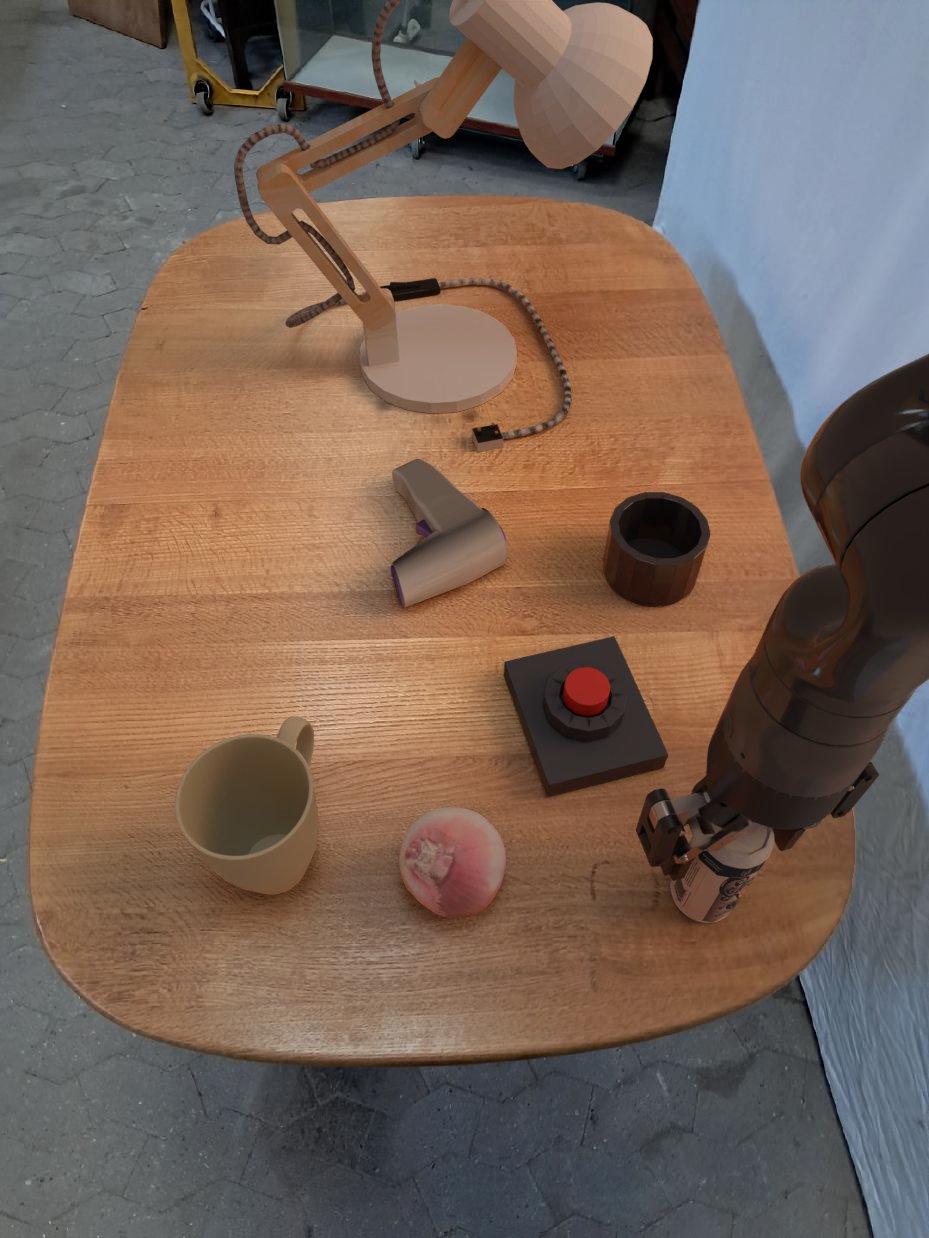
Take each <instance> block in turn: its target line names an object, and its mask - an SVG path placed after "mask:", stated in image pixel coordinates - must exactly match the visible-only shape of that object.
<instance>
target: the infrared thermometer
mask: <svg viewBox="0 0 929 1238" xmlns="http://www.w3.org/2000/svg"><path fill="white" fill-rule="evenodd" d="M391 475H392V484H393V489H394V491H395V492H397V493H398V494H400V495H401V496H402V497H403V498H404V500H405V501H406V503H407V504H408V506H409V508H410V510H411V512H412V514H413V516H414V518H415V520H416V521H417V523H416V524H415V533H416V535H418V536H421V537H422V538H423V539H421V540H420V541H419V542H418V543H416V544H415V545H414V546H413V547H411V548H410V549H408V550H407V551H406V552H405V553H403V554H402V555H400V556H399V557H397V558H396V559H395V560H394V561H393V562H392V564H391V565H390V573H391V579H392V582H393V586H394V590H395V593H396V597H397V600H398V603H399V605H400V607H402V608H403V607H404V608H408V607H410V606H412V605H415V604H418V603H420V602H423V601H426V600H428V599H431V598H434V597H436V596H439V595H442V594H445V593H447V592H450V591H452V590H455V589H457V588H460V587H463V586H467V585H469V584H470V583H472V582H474V581H476V580H478V579H479V578H482V577H483V576H485V575H487V574H489V573H491V572H492V571H495V570H497V569H499V568H500V567H502V566H504V565H505V564H506V563H507V562H508V558H509V549H508V548H509V546H508V540H507V537H506V534H505V532H504V529H503V528H502V526H501V524H500V523H499V522H498V521H497V519H496V518H495V517H494V515H493V514H492V513H491V512H490V511H489V510H488V509H486V508H485V507H480V506H478V504H476V503H475V502H474V501H473V499H471V498H470V497H469V496H467V495H466V494H465V493H463V492H462V491H461V490H460V489H458V488H457V487H456V486H455V484H453V482H452V481H450V479H449V478H448V477H446V476H445V475H444V473H442V472H441V471H440V470H439V469H438V468H436V467H435V466H433V465H432V464H430V463H429V462H427V461H425V460H423V459H420V458H415V459H413V460H411V461H409V462H406V463H403V464H402V465H400V466H398V467H396V468H393V469H392V470H391Z"/></svg>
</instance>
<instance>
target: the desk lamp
mask: <svg viewBox="0 0 929 1238" xmlns="http://www.w3.org/2000/svg"><path fill="white" fill-rule="evenodd" d="M401 1H402V0H386V2H385V3H384V5H383V7H382V9H381V11H380V13H379V15H378V17H377V19H376V22H375V25H374V29H373V34H372V38H371V62H372V63H371V64H372V70H373V76H374V79H375V83H376V87H377V89H378V92H379V95H380V97H381V101H382V102H383V103H382V104H380V105H378V106H377V107H374V108H372V109H370V110H368V111H366V112H365V113H363V114H361V115H358V116H357V117H355V118H352V119H351V120H348V121H346V122H345V123H343V124H341V125H339V126H337V127H335V128H333V129H331V130H329V131H326V132H325V133H323V134H321V135H319V136H317V137H315V138H313V139H312V140H309V141H307V139H306V138H305V136H304V135H303V133H302V132H301V131H300V130H299V129H298V128H296V127H294V126H291V125H290V124H288V123H279V124H268V125H266V126H265V127H263V128H261V129H259V130H257V131H256V132H253V133H252V134H250V136H249V137H248V138H247V139H246V140H245V141H244V142H243V143H242V144H241V145H240V146H239V148H238V149H237V153H236V156H235V159H234V162H233V173H234V181H235V186H236V192H237V195H238V196H237V197H238V201H239V204H240V205H239V206H240V209H241V212H242V214H243V217H244V219H245V222H246V224H247V225H248V226H249V228H250V229H251V231H252V232H253V234H254V235H255V236H256V237H257V238H258V239H260V240H261V241H263V242H264V243H265V244H267V245H281V244H283V243H285V242H287V241H289V240H291V239H292V238H293V239H294V240H295V242H296V243H297V244H298V245H299V247H300V248H301V249H302V250H303V252H304V253H305V254H306V255H307V256H308V257H309V259H310V260H311V261H312V263H313V264H314V265H315V266H316V267H317V269H318V270H319V271H320V272H321V274H322V275H323V276H324V277H325V278H326V280H327V281H328V282H329V283H330V285H331V286H332V287H333V288H334V289H335V290H336V293H335V294H333V295H332V296H331V297H329V298H328V299H326V300H324V301H321V302H317V303H314V304H312V305H308V306H307V307H304V308H302V309H300V310H298V311H296V312H294V313H292V314H291V315H289V317H288V318H287V319H286V320H285V323H284V324H285V326H286V327H287V328H289V329H291V328H297V327H299V326H301V325H303V324H305V323H307V322H308V321H310V320H312V319H314V318H315V317H317V316H319V315H321V314H322V313H323V312H325V311H327V310H329V309H331V307H336V306H340V305H345V304H346V305H348V307H349V308H350V309H351V310H352V312H353V313H354V315H356V316H357V317H358V319H359V320H360V321H361V322H362V328H363V337H364V338H363V341H362V342H361V344H360V347H359V363H360V364H359V365H360V373H361V376H362V378H363V380H364V381H365V383H366V384H367V386H368V388H369V390H371V391H372V392H373V393H374V394H376V395H377V396H378V397H379V398H381V400H383V401H384V402H386V403H389V404H391V405H393V406H396V407H399V408H401V409H403V410H406V411H411V412H419V413H424V414H425V413H426V414H448V413H458V412H463V411H466V410H469V409H473V408H476V407H480V406H482V405H484V404H485V403H487V402H489V401H490V400H492V399H494V398H495V397H497V396H499V395H501V393H502V392H503V391H504V390H505V388H507V386H508V385H509V384H510V383H511V382H512V381H513V379H514V375H515V371H516V368H517V366H518V350H517V346H516V340H515V337H514V336H513V334H512V333H511V331H510V330H509V328H507V326H506V325H505V324H504V323H502V322H501V321H500V320H498V319H496V318H495V317H493V316H492V315H490V314H489V313H486V312H485V311H481V310H478V309H475V308H472V307H470V306H465V305H457V304H450V303H434V304H433V303H432V304H420V305H417V306H413V307H408V308H405V309H401V310H397V311H396V302H397V301H405V300H410V299H416V298H417V299H418V298H422V297H423V298H424V297H429V296H435V295H440V294H441V289H442V290H443V289H448V288H455V287H463V286H464V287H465V286H472V285H474V286H475V285H476V286H478V285H479V286H492V287H495V288H499V289H501V290H505V291H507V292H508V293H509V294H511V295H512V296H514V297H515V298H516V299H518V300H519V301H520V303H521V304H522V305H523V306H524V307H525V309H527V311H528V313H529V314H530V316H531V317H532V320H533V321H534V323H535V324H536V326H537V328H538V330H539V332H540V335H541V336H542V339H543V340H544V342H545V344H546V346H547V348H548V350H549V353H550V354H551V357H552V359H553V361H554V363H555V366H556V368H557V370H558V372H559V377H560V378H561V382H562V384H563V393H564V401H563V404H562V406H561V410H560V411H559V412H558V413H557V414H555V416H554V417H552V418H551V419H549V420H547V421H545V422H542V423H539V424H537V425H533V426H529V427H525V428H520V429H515V430H508V431H503V432H501V429H500V426H499V425H498V423H495V422H491V424H490V425H484V426H477V427H473V428H471V437H472V438H471V439H472V441H473V443H474V446H475V449H476V452H477V453H481V452H487V451H493V450H498V449H503V448H504V441H505V440H509V439H515V438H519V437H524V436H530V435H534V434H537V433H540V432H542V431H545V430H548V429H551V428H553V427H555V426H556V425H558V423H560V422H561V421H562V420H563V419H564V418H565V417H566V416H567V415H568V413H569V411H570V407H571V403H572V386H571V382H570V380H569V376H568V372H567V370H566V367H565V365H564V363H563V361H562V358H561V356H560V354H559V352H558V350H557V348H556V346H555V344H554V342H553V340H552V337H551V335H550V334H549V331H548V330H547V328H546V326H545V324H544V322H543V320H542V318H541V317H540V315H539V313H538V312H537V310H536V308H535V307H534V305H533V304H532V303H531V302H530V301H529V299H527V297H526V296H525V295H524V294H523V293H522V292H521V291H519V290H518V289H516V288H515V287H514V286H512V285H510V284H509V283H506V282H503V281H501V280H497V279H493V278H483V277H481V278H478V277H470V278H462V279H453V280H446V281H438V278H437V277H432V278H426V279H420V280H413V281H412V280H411V281H390V282H389V284H386V285H379V283H378V282H377V281H376V280H375V278H374V277H373V276H372V274H371V273H370V271H368V269H367V268H366V266H365V265H364V264H363V262H362V261H361V260H360V258H359V257H358V256H357V255H356V253H355V252H354V250H353V249H352V248H351V247H350V245H349V244H348V243H347V242H346V240H345V239H344V238H343V236H342V235H341V233H340V232H339V231H338V229H336V226H334V225H333V223H332V222H331V220H330V219H329V218H328V217H327V215H326V214H325V213H324V211H323V209H321V208H320V206H319V205H318V203H317V202H316V200H315V199H314V198H313V196H312V195H311V193H313V192H314V191H316V190H318V189H321V188H323V187H324V186H327V185H328V184H330V183H332V182H335V181H336V180H339V179H340V178H343V177H344V176H346V175H349V174H351V173H353V172H354V171H357V170H359V169H361V168H362V167H365V166H367V165H368V164H371V163H373V162H374V161H377V160H379V159H381V158H383V157H385V156H386V155H389V154H390V153H393V152H394V151H397V150H399V149H400V148H403V147H405V146H407V145H408V144H410V143H412V142H415V141H416V140H417V141H418V140H419V139H421V138H423V137H424V136H426V135H429V134H431V133H432V132H433V133H435V134H436V135H437V136H438V137H440V138H442V139H445V140H446V139H449V138H451V137H453V136H454V135H455V133H456V132H457V131H458V129H459V128H460V126H462V124H463V122H464V121H465V120H466V118H467V117H468V115H469V114H470V113H471V111H472V110H473V109H474V107H475V106H476V105H477V103H478V102H479V101H480V99H481V98H482V96H483V95H484V94H485V93H486V91H487V90H488V88H489V87H490V86H491V84H492V83H493V82H494V81H495V79H496V78H497V76H498V75H499V73H500V72H501V71H502V70H503V71H504V72H505V73H506V74H508V75H509V76H510V77H511V78H512V79H513V80H514V84H513V85H514V86H513V97H512V98H513V100H512V101H513V111H514V115H515V119H516V123H517V127H518V130H519V133H520V136H521V139H522V140H523V142H524V144H525V146H526V147H527V148H528V151H530V153H531V154H532V155H533V156H534V158H536V159H537V160H538V161H539V162H540V163H542V164H543V166H545V167H546V169H557V170H563V169H565V168H568V167H571V166H574V165H577V164H579V163H581V162H582V161H584V160H585V159H587V158H588V157H590V156H591V155H592V154H594V153H596V151H599V149H600V148H601V147H602V146H603V145H605V143H606V142H607V141H608V140H609V139H610V138H611V137H612V136H613V135H614V134H615V133H616V132H617V131H618V129H619V128H620V127H621V126H622V124H623V122H624V121H625V120H626V118H627V117H628V115H629V114H630V113H631V111H632V110H633V109H634V106H635V105H636V104H637V100H638V98H639V97H640V94H641V93H642V90H643V88H645V86H646V85H645V84H646V82H647V80H648V76H649V72H650V69H651V68H650V67H651V65H652V61H653V52H654V51H653V49H654V45H653V43H654V38H653V36H652V34H651V31H650V29H649V27H648V25H647V24H646V23H645V22H644V21H643V20H642V19H641V18H640V17H639V16H637V15H635V14H633V13H631V12H630V11H628V10H626V9H624V8H622V7H620V6H618V5H615V4H612V3H609V2H590V3H582V4H577V5H573V6H571V7H569V8H566V9H564V10H562V9H561V7H560V6H558V5H557V4H556V3H555V2H554V1H553V0H452V1H451V5H450V7H449V14H448V15H449V16H448V18H449V22H450V24H451V25H452V26H453V27H454V28H456V29H457V30H458V31H459V32H460V33H461V34H462V35H463V36H465V37H466V38H465V40H463V43H462V44H461V45H460V47H459V49H458V50H457V51H456V53H455V54H454V55H453V57H452V58H451V60H450V61H449V63H448V64H447V65H446V67H445V68H444V70H443V71H442V73H441V74H440V76H437V77H433V78H432V79H429V80H426V81H425V82H423V83H420V82H418V81H417V80H416V79H413V84H414V86H415V87H414V88H412V89H410V90H408V91H406V92H403V93H402V94H400V95H398V96H396V97H394V98H393V99H392V97H391V95H390V92H389V89H388V87H387V83H386V80H385V77H384V73H383V69H382V59H381V51H382V50H381V49H382V39H383V35H384V31H385V28H386V24H387V22H388V21H389V18H390V16H391V14H392V12H393V11H394V10H395V9H396V7H397V6H398V5H399V3H400V2H401ZM410 114H414V116H413V118H411V119H409V120H407V121H405V122H403V123H401V121H400V120H401V119H402V118H404V117H406V116H408V115H410ZM400 123H401V124H400ZM381 129H382V130H381ZM379 130H380V131H379ZM377 131H379V132H377ZM376 132H377V133H376ZM373 133H375V134H373ZM278 134H287V135H288V136H291V137H292V138H294V139H295V141H296V143H297V144H298V146H297V147H295V148H293V149H291V150H290V151H288V152H285V153H284V154H282V155H280V156H277V157H276V158H274V159H271V160H270V161H268V162H266V163H264V164H262V165H260V166H259V167H256V172H255V177H256V180H257V182H256V183H257V184H256V186H257V190H258V194H259V197H260V199H261V200H262V201H263V203H264V204H265V205H266V206H267V207H268V209H269V210H270V212H271V213H272V214H273V215H274V216H275V217H276V219H278V221H279V222H280V223H281V225H282V226H283V227H284V228H285V229H286V230H285V231H284V232H282V233H280V234H279V235H277V236H274V235H273V236H272V235H269V234H267V233H266V232H265V231H263V230H262V229H261V228H260V226H259V224H258V223H257V221H256V220H255V217H254V215H253V213H252V210H251V208H250V204H249V200H248V196H247V191H246V184H245V180H244V170H243V169H244V168H243V164H244V162H245V159H246V156H247V154H248V153H249V152H250V151H251V150H252V149H253V148H254V147H255V145H256V144H258V143H259V142H260V141H262V140H263V141H264V139H266V138H268V137H270V136H272V135H278ZM371 134H373V135H371ZM369 135H371V136H369ZM367 136H369V137H368V138H365V137H367ZM363 138H365V139H364V140H362V141H360V142H358V143H356V144H353V143H354V142H357V141H359V140H361V139H363ZM351 144H353V145H351ZM349 145H351V146H349ZM347 146H349V147H347ZM345 147H347V148H345ZM343 148H344V149H343ZM341 149H342V150H341ZM339 150H340V151H339ZM337 151H338V152H337ZM335 152H336V153H335ZM307 166H310V168H311V169H310V170H308V171H306V172H303V173H302V174H301V173H298V171H299V170H301V169H303V168H305V167H307ZM297 209H298V210H302V211H303V212H304V214H305V215H306V216H307V218H308V219H309V220H310V221H311V222H312V224H313V225H314V227H315V228H314V227H313V225H311V224H309V223H308V222H305V221H303V220H299V219H298V218H297V216H296V215H295V214H294V211H296V210H297ZM313 237H314V238H313ZM315 240H316V241H315ZM317 242H318V243H319V244H318V243H317ZM319 245H320V246H321V247H322V248H323V249H322V248H321V247H320V246H319ZM324 250H325V252H326V253H327V254H328V255H329V257H330V258H331V259H332V260H333V262H334V263H335V264H334V263H333V262H332V260H331V259H330V258H329V257H328V255H327V254H326V253H325V252H324ZM336 266H337V267H338V268H339V269H338V268H337V267H336ZM339 270H340V271H341V272H340V271H339ZM352 275H353V276H354V278H355V279H356V280H357V281H358V283H359V284H360V285H361V287H362V288H363V289H364V291H363V292H362V293H361V294H358V293H357V292H356V286H355V281H354V278H353V276H352Z"/></svg>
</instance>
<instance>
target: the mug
mask: <svg viewBox="0 0 929 1238" xmlns="http://www.w3.org/2000/svg"><path fill="white" fill-rule="evenodd" d="M314 747H315V731H314V728H313V725H312V724H311V722H310V721H309V720H307V719H306V718H303V717H299V716H296V715H295V716H294V715H291V716H288V717H287V718H285V720H284V721H283V722H282V724H281V725H280V727H279V730H278V732H277V734H276V736H273V735H268V734H263V733H261V734H260V733H246V734H240V735H235V736H232V737H228V738H226V739H223V740H221V741H218V742H216V743H215V744H213V745H211V746H209V747H208V748H206V749H205V750H204V751H202V752H201V753H200V754H199V755H198V756H197V757H196V758H195V759H194V760H193V761H192V762H191V763H190V764H189V766H188V767H187V768H186V770H185V772H184V773H183V774H182V776H181V779H180V781H179V783H178V785H177V788H176V792H175V797H174V816H175V820H176V823H177V826H178V829H179V830H180V833H181V835H182V836H183V838H184V839H185V840H186V841H187V843H188V844H189V845H190V846H191V847H192V848H193V849H194V851H195V852H196V853H197V854H198V855H199V856H200V858H201V859H202V860H203V861H204V863H205V864H206V865H207V866H208V867H209V868H210V869H211V870H212V871H213V872H214V873H215V874H216V875H217V876H219V878H221V879H223V880H224V881H225V882H227V883H229V884H230V885H232V886H234V887H237V888H239V889H242V890H245V891H250V892H253V893H259V894H263V895H268V896H273V895H280V894H284V893H287V892H289V891H290V890H291V889H293V888H294V887H296V886H297V885H298V884H299V883H300V882H301V881H302V879H303V878H304V876H305V874H306V872H307V869H308V867H309V865H310V864H311V861H312V859H313V857H314V855H315V852H316V848H317V845H318V841H319V833H320V832H319V831H320V818H319V810H318V803H317V797H316V791H315V783H314V778H313V774H312V771H311V764H312V760H313V754H314Z"/></svg>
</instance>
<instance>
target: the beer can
mask: <svg viewBox="0 0 929 1238" xmlns="http://www.w3.org/2000/svg"><path fill="white" fill-rule="evenodd" d="M711 824H712V823H711ZM712 826H713V828H714V830H715V833H717V832H718V831H720V830H721V829H722V828H720V827H718V826H716V825H714V824H712ZM692 840H693V836H692V838H691V840H690V842H691V841H692ZM690 842H689V843H690ZM774 845H775V841H774V832H773V829H772V828H770V827H766V826H762V827H760V828H759V829H757V830H756V831H754V832H752V833H744V834H742V835H741V836H739V837H738V838H736V839H735V840H733V841H732V842H730V843H729V844H727V845H726V846H724V847H723V848H722V849H720V850H718V851H703V852H701V853H700V854H698V855H697V856H695V857H694V858H693V861H692V863H691V865H690V867H689V869H688V871H687V873H686V875H685V876H684V878H682V879H679V880H675V881H673V880H672V879H671V880H670V886H669V887H670V893H671V897H672V900H673V901H674V904H675V905H676V907H677V908H678V909H679V911H680V912H682V914H684V915H685V916H686V917H687V918H689V919H691V920H694V921H695V922H699V923H704V924H713V923H717V922H720V921H723V920H725V919H726V918H727V917H728V916H729V915H730V914H731V913H732V911H733V910H734V908H735V907H736V906H737V904H738V902H739V901H740V899H741V898H742V897H743V895H744V894H745V893H746V891H747V889H748V888H749V887H750V885H751V883H752V882H753V881H754V879H755V878H756V876H757V875H758V873H759V872H760V870H761V869H762V867H763V866H764V864H765V863H766V861H768V858H769V857H770V855H771V854H772V852H773V851H774Z"/></svg>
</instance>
